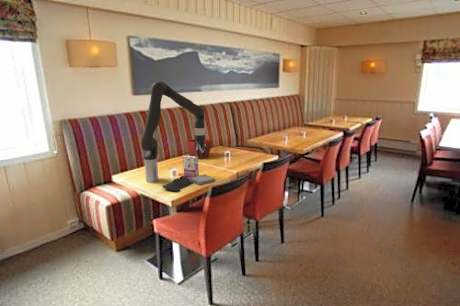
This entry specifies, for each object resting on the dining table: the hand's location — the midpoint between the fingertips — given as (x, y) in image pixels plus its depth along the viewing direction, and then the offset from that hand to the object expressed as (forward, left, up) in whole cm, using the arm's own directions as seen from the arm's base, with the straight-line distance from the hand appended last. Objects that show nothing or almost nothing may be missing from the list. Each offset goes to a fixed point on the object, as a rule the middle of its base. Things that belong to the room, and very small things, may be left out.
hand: (200, 156), depth 216 cm
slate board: (0, 0, -19) cm, 19 cm away
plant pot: (-65, +36, -19) cm, 77 cm away
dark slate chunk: (-3, -19, -20) cm, 27 cm away
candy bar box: (-14, -1, -19) cm, 24 cm away
